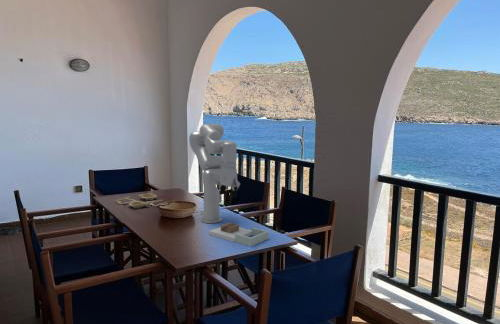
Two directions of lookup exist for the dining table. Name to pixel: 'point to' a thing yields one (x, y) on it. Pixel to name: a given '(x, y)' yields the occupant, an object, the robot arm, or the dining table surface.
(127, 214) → the dining table surface
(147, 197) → the tableware set
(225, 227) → the brown round disc
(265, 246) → the dining table surface
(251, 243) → the box
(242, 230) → the board
